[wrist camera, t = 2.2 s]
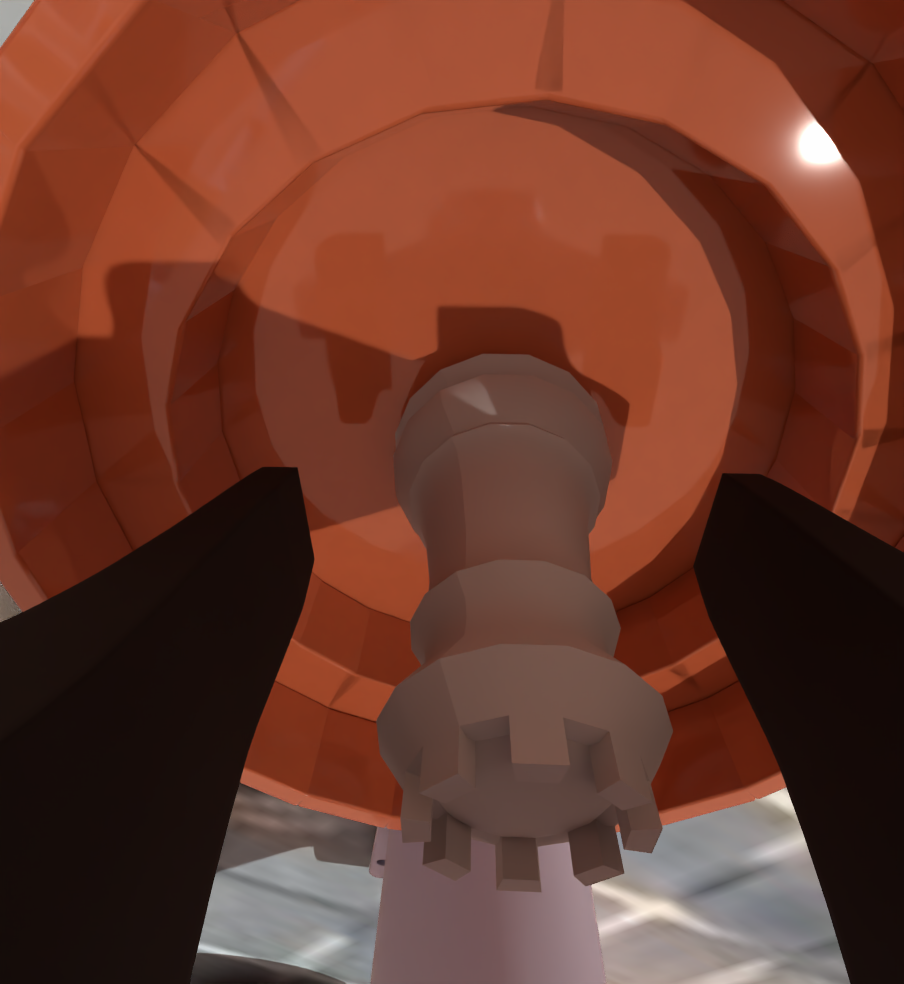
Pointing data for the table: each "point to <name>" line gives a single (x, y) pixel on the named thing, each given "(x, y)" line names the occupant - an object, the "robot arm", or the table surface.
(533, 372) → the rook chess piece
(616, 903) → the table surface
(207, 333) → the terracotta bowl
